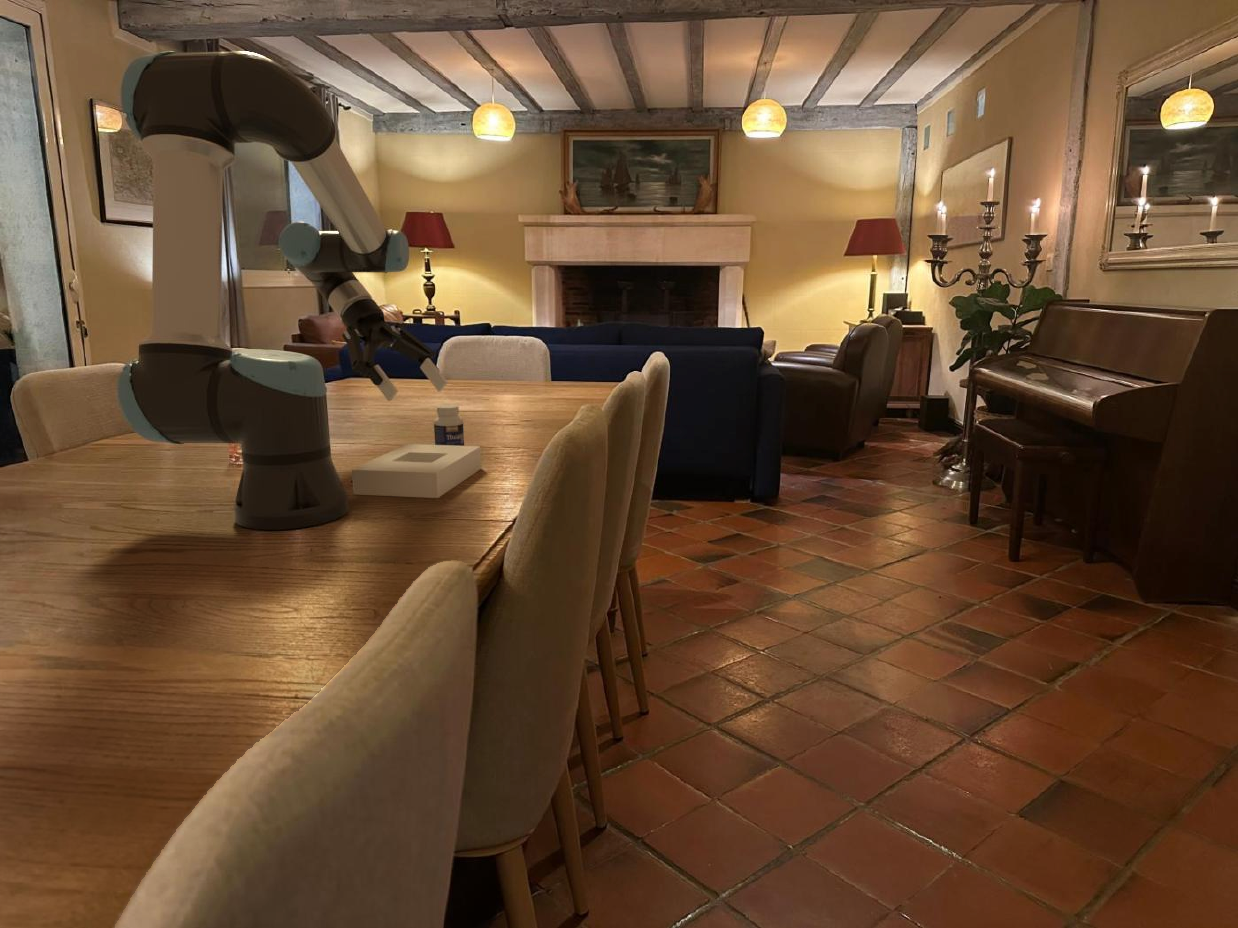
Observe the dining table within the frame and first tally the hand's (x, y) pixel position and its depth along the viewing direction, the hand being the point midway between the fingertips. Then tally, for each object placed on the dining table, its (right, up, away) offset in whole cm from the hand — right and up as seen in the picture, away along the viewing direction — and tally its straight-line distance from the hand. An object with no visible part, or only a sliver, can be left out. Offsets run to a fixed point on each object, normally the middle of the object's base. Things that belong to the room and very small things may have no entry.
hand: (419, 391), depth 156 cm
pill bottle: (+6, -13, -2) cm, 14 cm away
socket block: (+5, -17, -20) cm, 26 cm away
